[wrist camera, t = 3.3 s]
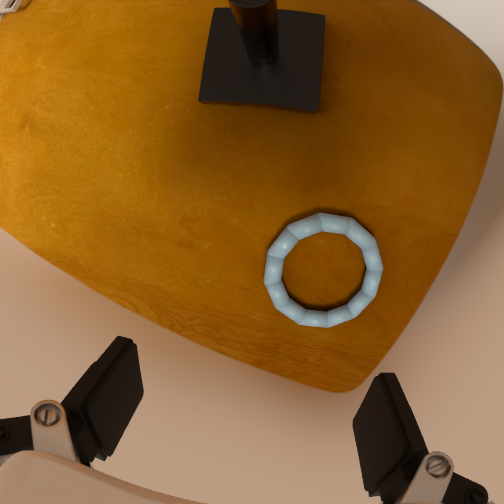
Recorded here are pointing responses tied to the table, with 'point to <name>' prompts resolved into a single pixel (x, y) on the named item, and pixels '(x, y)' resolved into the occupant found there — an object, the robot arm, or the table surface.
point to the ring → (307, 229)
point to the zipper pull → (2, 2)
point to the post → (263, 57)
